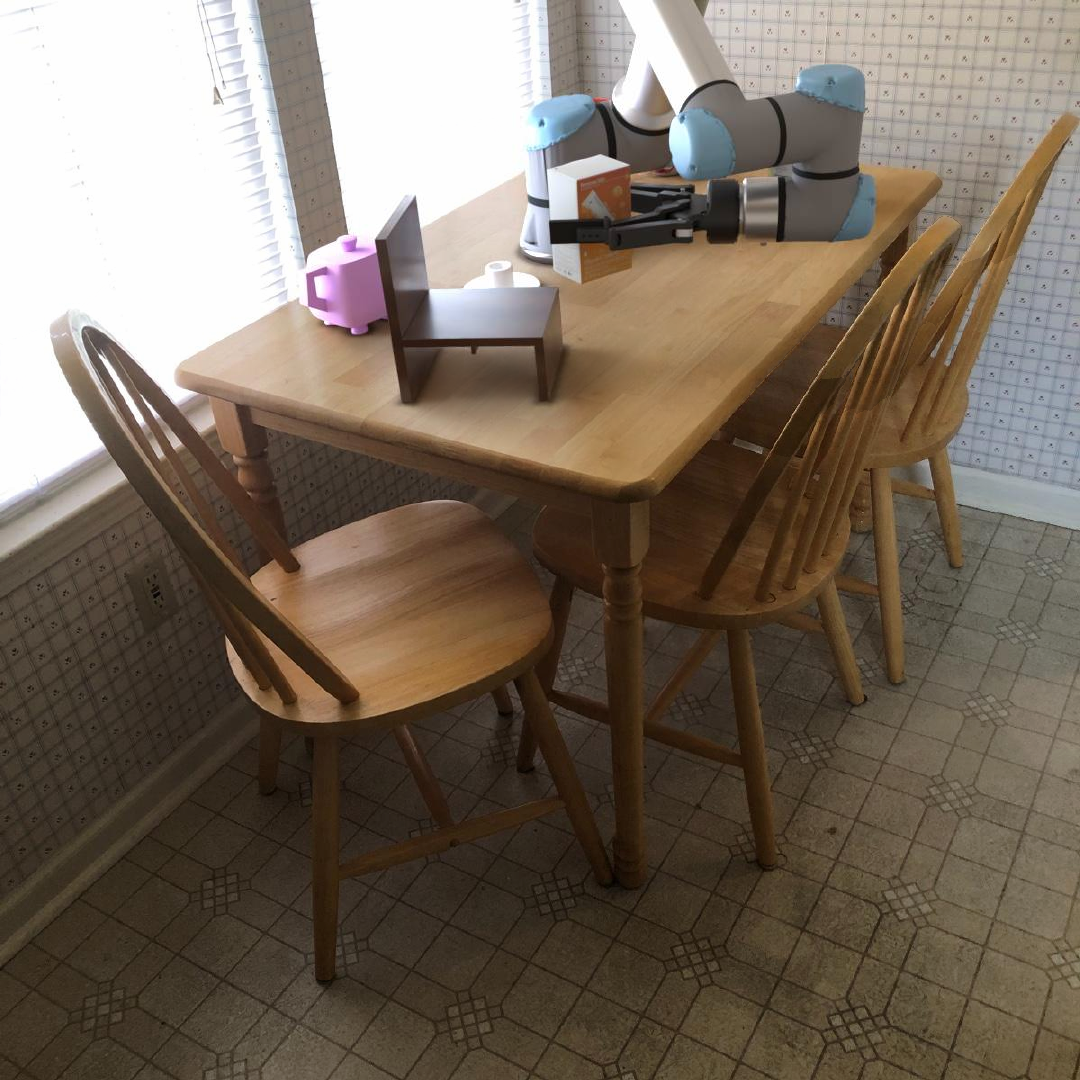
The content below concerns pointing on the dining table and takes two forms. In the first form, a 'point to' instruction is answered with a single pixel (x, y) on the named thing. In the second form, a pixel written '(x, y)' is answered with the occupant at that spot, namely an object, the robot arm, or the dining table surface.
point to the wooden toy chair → (457, 310)
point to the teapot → (344, 283)
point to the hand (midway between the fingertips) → (555, 216)
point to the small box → (589, 214)
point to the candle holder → (503, 277)
